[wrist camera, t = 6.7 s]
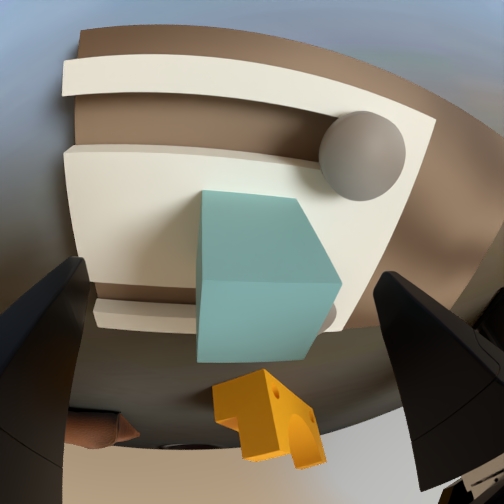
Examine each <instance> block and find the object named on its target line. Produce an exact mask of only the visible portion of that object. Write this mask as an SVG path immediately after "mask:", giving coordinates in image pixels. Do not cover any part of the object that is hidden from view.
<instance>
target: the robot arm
mask: <svg viewBox="0 0 504 504" xmlns="http://www.w3.org/2000/svg"><path fill="white" fill-rule="evenodd" d="M89 289H90V280H89V275H88V271H87V267H86V262H85V259H84V258H83V257H75V256H71V257H69V258H68V259H66V260H65V261H64V262H62V263H61V264H60V265H59V266H57V267H56V268H55V269H54V270H52V271H51V272H50V273H49V274H47V275H46V276H45V277H44V278H42V279H41V280H40V281H39V282H38V283H36V284H35V285H34V286H33V287H32V288H31V289H29V290H28V291H27V292H26V293H25V294H24V295H22V296H21V297H20V298H19V299H18V300H17V301H16V302H15V303H13V304H12V305H11V306H10V307H9V308H8V309H7V310H6V311H5V312H4V313H2V314H1V315H0V504H62V477H63V476H62V475H63V468H62V467H63V453H64V452H63V451H64V441H65V431H66V422H67V414H68V407H69V400H70V393H71V387H72V382H73V376H74V371H75V366H76V361H77V356H78V352H79V347H80V343H81V338H82V333H83V326H84V319H85V312H86V306H87V300H88V294H89ZM373 298H374V302H375V306H376V310H377V315H378V319H379V323H380V327H381V332H382V336H383V339H384V342H385V345H386V348H387V352H388V355H389V358H390V361H391V365H392V368H393V372H394V375H395V379H396V382H397V386H398V389H399V393H400V397H401V401H402V404H403V408H404V412H405V416H406V421H407V425H408V429H409V433H410V438H411V441H412V442H411V443H412V449H413V454H414V459H415V464H416V470H417V475H418V482H419V488H420V491H421V492H423V491H426V490H428V489H431V488H433V487H436V486H439V485H441V484H443V483H446V482H448V481H451V480H453V479H455V478H457V477H459V476H461V478H460V479H459V480H457V481H456V482H454V483H453V484H451V485H449V486H448V487H447V488H445V489H443V492H442V494H441V497H440V500H439V502H438V504H504V288H503V289H502V290H501V292H500V293H499V295H498V296H497V297H496V299H495V300H494V302H493V303H492V304H491V306H490V307H489V308H488V310H487V311H486V312H485V314H484V315H483V316H482V318H481V319H480V320H479V321H478V323H477V324H476V325H475V326H474V328H473V329H472V327H470V326H469V325H468V324H467V323H465V322H464V321H463V320H461V319H460V318H459V317H458V316H456V315H455V314H454V313H452V312H451V311H450V310H448V309H447V308H446V307H444V306H443V305H442V304H440V303H439V302H438V301H436V300H435V299H434V298H432V297H431V296H429V295H428V294H427V293H425V292H424V291H423V290H421V289H420V288H418V287H417V286H416V285H414V284H413V283H411V282H410V281H409V280H407V279H406V278H404V277H403V276H401V275H400V274H399V273H397V272H395V271H384V272H383V273H382V274H381V276H380V278H379V280H378V282H377V284H376V285H375V287H374V289H373Z"/></svg>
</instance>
